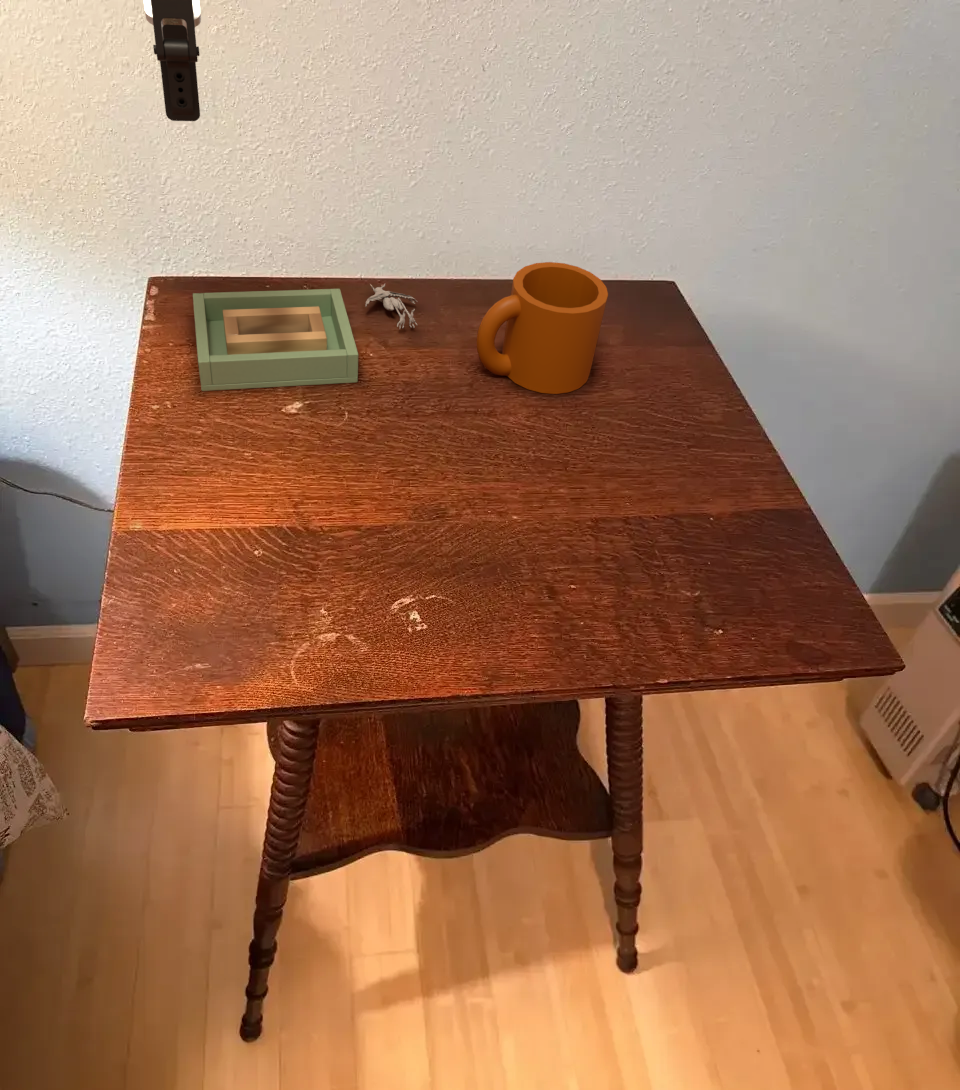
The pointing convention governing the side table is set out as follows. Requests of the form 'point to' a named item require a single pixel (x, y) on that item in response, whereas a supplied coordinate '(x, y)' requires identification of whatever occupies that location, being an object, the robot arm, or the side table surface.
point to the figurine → (393, 303)
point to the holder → (277, 366)
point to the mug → (545, 328)
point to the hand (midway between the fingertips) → (181, 95)
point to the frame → (274, 330)
